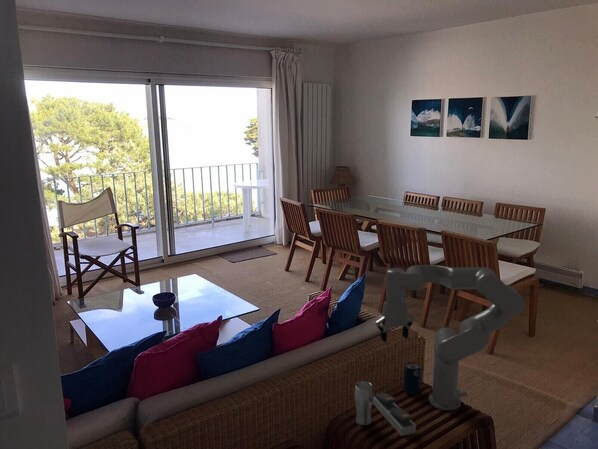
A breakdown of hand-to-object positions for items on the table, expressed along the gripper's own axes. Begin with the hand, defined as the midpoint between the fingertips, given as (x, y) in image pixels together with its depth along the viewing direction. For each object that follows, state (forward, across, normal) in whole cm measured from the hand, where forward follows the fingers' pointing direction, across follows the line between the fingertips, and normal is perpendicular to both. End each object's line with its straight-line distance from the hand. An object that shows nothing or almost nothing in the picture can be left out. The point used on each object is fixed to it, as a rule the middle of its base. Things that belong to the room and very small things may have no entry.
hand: (394, 339), depth 196 cm
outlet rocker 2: (+21, +7, +18) cm, 29 cm away
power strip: (+26, +7, +12) cm, 30 cm away
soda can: (+26, -10, -2) cm, 28 cm away
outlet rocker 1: (+21, +7, +6) cm, 23 cm away
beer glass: (+26, +19, +11) cm, 34 cm away
